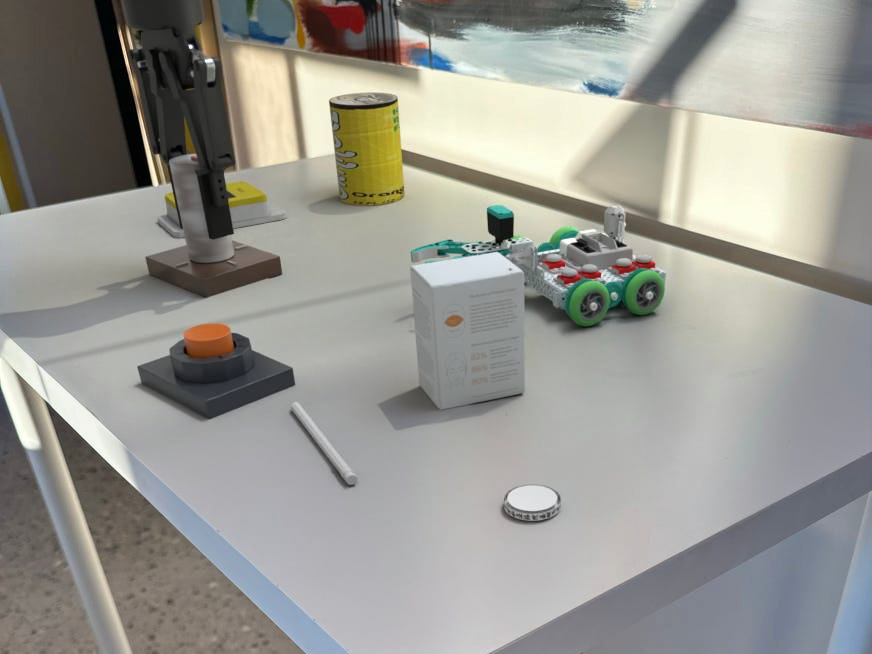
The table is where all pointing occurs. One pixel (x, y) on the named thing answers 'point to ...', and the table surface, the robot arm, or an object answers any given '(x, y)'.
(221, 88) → the robot arm
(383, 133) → the beverage can
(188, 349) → the push knob
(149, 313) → the table surface
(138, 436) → the table surface
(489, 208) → the robot kit
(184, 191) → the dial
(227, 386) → the button housing
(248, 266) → the dial panel
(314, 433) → the white rod
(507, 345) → the small box
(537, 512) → the white flat disc
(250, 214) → the yellow box on plate
